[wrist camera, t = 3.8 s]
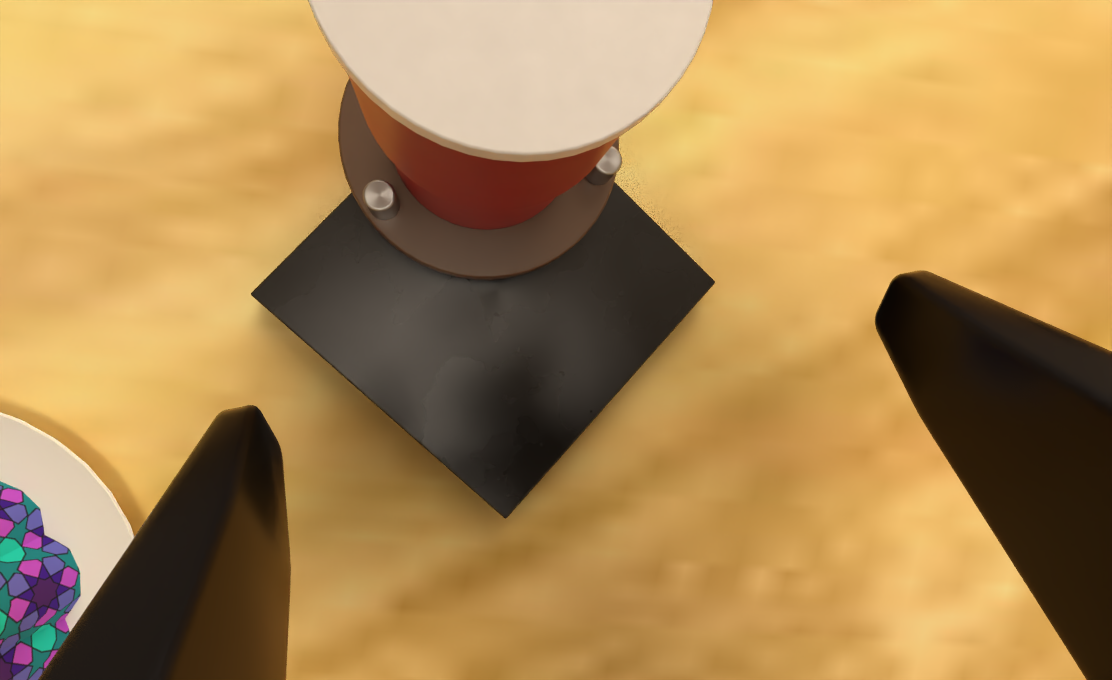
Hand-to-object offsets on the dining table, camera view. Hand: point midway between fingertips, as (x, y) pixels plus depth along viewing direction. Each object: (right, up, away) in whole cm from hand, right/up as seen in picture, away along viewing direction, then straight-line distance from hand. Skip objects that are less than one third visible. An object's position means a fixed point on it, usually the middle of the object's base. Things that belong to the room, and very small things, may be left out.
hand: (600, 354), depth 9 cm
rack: (-3, +2, +12) cm, 12 cm away
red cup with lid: (-3, +6, +8) cm, 11 cm away
